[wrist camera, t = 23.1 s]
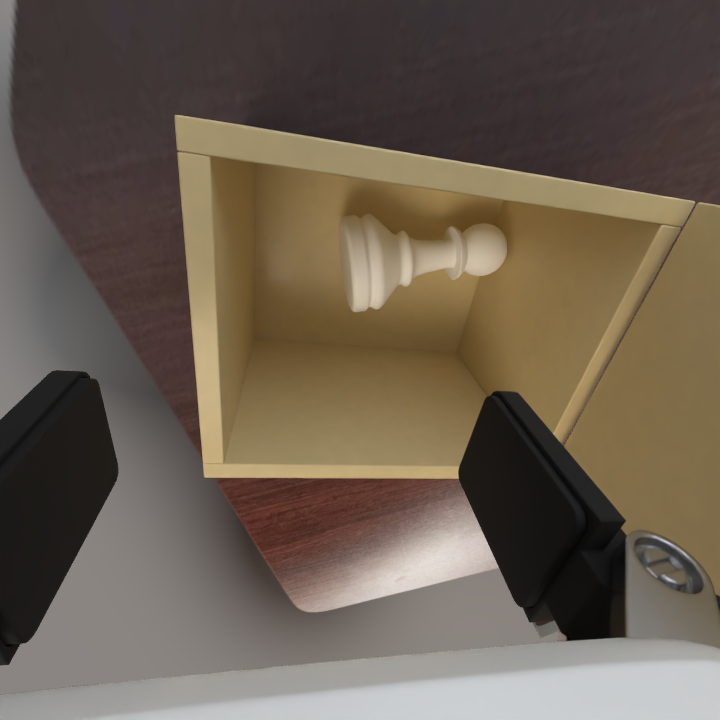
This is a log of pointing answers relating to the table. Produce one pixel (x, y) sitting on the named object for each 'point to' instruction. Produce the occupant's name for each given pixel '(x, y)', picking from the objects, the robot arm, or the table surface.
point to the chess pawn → (409, 257)
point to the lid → (665, 404)
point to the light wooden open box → (393, 301)
